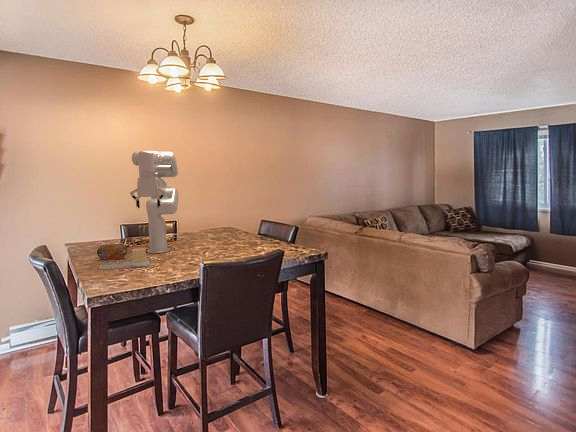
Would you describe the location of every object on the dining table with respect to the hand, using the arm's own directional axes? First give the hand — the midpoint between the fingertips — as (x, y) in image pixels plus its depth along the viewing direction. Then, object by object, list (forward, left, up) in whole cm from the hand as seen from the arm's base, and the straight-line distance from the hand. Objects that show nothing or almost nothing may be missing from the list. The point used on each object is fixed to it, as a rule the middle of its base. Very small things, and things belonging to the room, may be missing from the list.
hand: (148, 207), depth 190 cm
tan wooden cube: (+10, -5, -26) cm, 28 cm away
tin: (-10, -20, -29) cm, 36 cm away
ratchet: (+10, -12, -28) cm, 32 cm away
